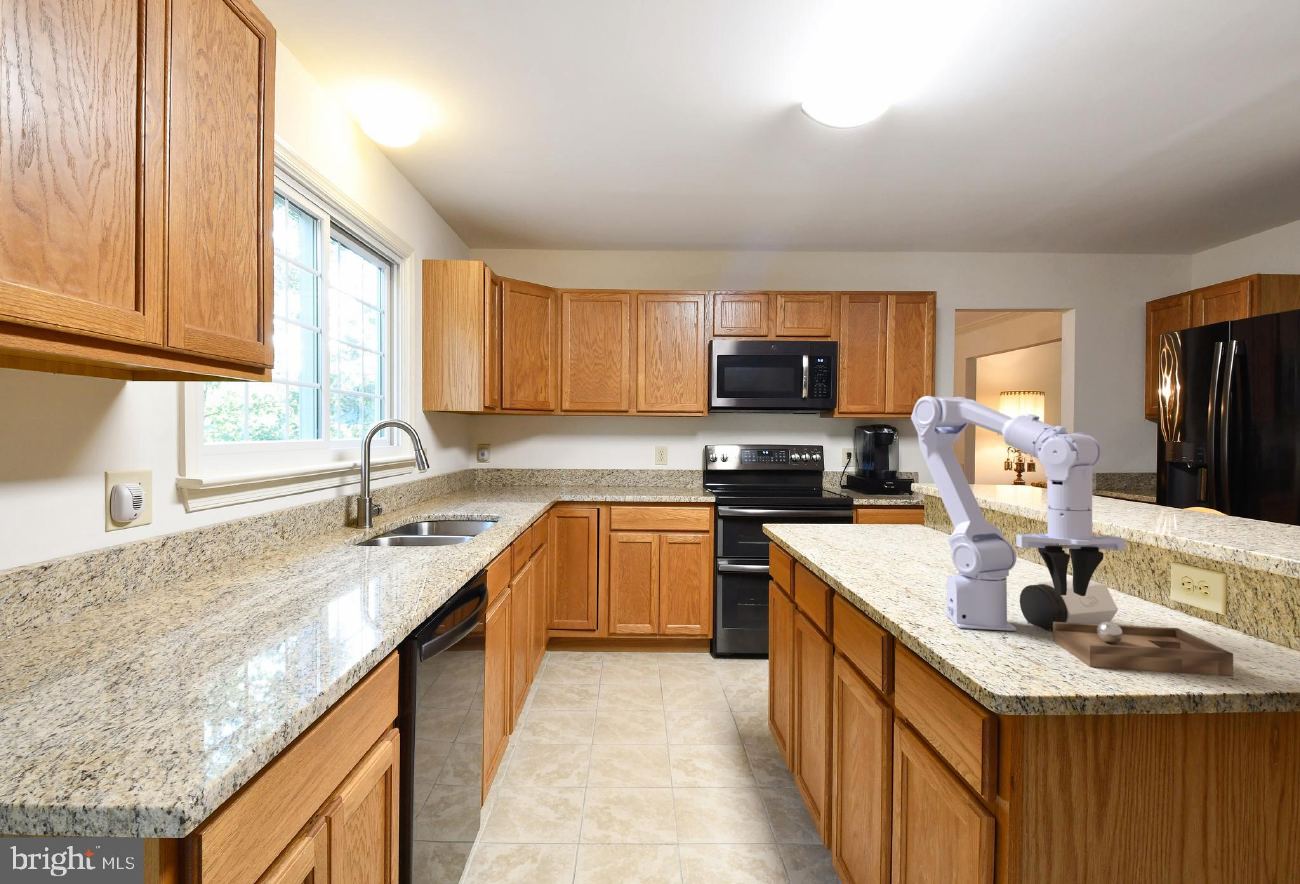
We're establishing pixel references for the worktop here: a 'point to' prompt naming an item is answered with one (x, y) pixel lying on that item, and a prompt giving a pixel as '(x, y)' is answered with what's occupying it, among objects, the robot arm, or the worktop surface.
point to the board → (1144, 649)
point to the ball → (1109, 632)
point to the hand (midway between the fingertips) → (1069, 594)
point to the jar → (1066, 605)
